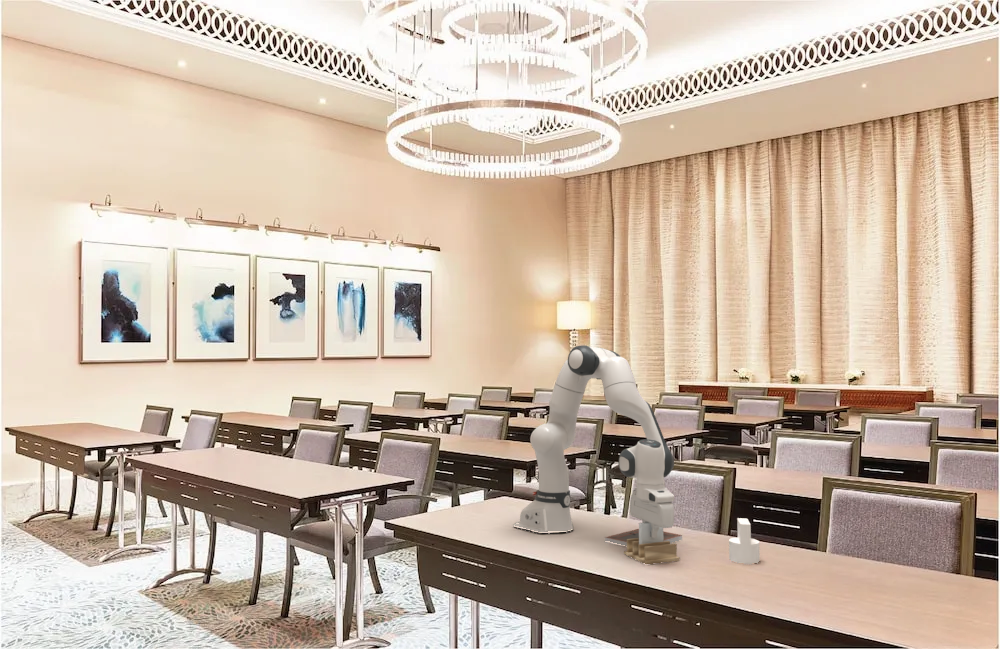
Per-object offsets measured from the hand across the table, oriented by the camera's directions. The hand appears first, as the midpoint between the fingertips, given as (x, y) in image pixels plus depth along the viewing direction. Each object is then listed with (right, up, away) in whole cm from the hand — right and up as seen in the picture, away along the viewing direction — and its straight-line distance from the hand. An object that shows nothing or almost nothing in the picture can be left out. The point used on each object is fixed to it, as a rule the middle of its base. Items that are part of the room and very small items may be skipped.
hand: (651, 536), depth 238 cm
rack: (0, -7, 0) cm, 7 cm away
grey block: (0, -4, 0) cm, 4 cm away
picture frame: (+2, -8, +21) cm, 23 cm away
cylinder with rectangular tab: (+28, -7, -4) cm, 29 cm away
